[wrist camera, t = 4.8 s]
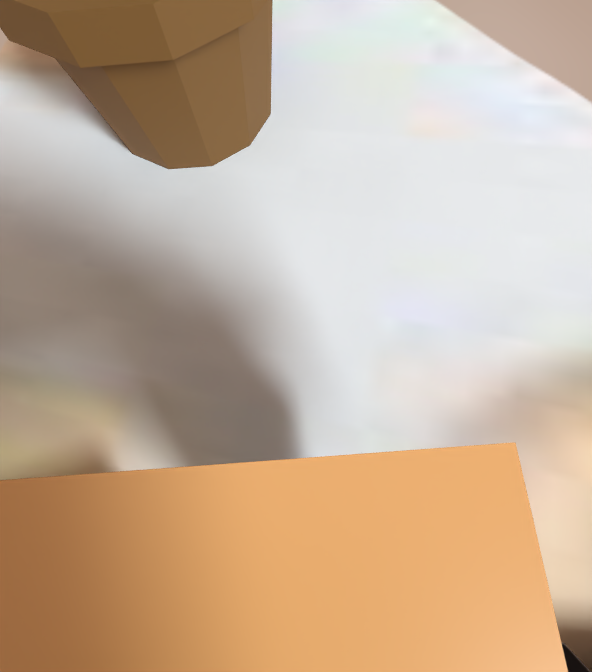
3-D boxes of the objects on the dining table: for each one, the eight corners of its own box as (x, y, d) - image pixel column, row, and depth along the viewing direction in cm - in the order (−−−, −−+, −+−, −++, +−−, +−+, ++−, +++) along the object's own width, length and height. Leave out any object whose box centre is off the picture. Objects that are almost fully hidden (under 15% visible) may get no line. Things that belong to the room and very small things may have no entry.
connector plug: (372, 593, 14) (750, 1472, 2) (247, 600, 14) (-211, 1477, 2) (357, 461, 15) (515, 441, 3) (243, 470, 16) (-38, 483, 3)
